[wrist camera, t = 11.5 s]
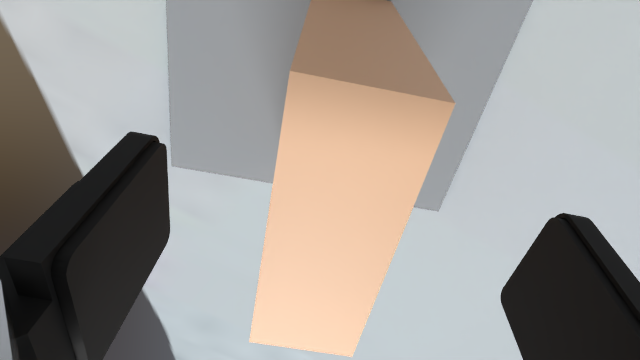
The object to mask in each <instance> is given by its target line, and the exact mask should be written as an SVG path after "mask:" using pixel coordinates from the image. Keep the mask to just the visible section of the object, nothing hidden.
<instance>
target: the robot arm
mask: <svg viewBox="0 0 640 360" xmlns="http://www.w3.org/2000/svg"><path fill="white" fill-rule="evenodd" d="M169 234H170V218H169V195H168V172H167V150H166V146H165V144H162V143H159V139H158V137H156V136H153V135H147V134H142V133H137V132H129V133H128V134H127V135H126V136H125V137H124V138H123V139H122V140H121V141H120V142H119V143H118V144H117V145H116V146H115V147H113V148H112V149H111V150H110V151H109V152H108V153H107V154H106V155H105V156H104V157H103V158H102V159H101V160H100V161H99V162H98V163H97V164H96V165H95V166H94V167H93V168H92V169H91V170H90V171H89V172H88V173H87V174H86V175H85V176H84V177H83V178H82V179H81V180H80V181H78V182H76V183H75V184H74V185H72V186H71V187H70V188H69V189H68V190H67V191H66V192H65V193H64V194H63V195H62V196H61V197H60V198H59V199H58V200H57V201H56V202H55V203H54V204H53V205H52V206H51V207H50V208H49V209H48V210H47V211H46V212H45V213H44V214H43V215H42V216H41V217H40V218H39V219H38V220H37V221H36V222H35V223H34V224H33V225H32V226H30V228H28V230H26V231H25V233H23V234H22V235H21V236H20V237H19V238H18V239H17V240H16V241H15V242H14V243H13V244H12V245H11V246H10V247H9V248H8V249H7V250H6V251H5V252H4V253H3V254H2V255H1V256H0V360H102V359H103V358H104V356H105V354H106V352H107V351H108V349H109V347H110V345H111V343H112V342H113V340H114V338H115V336H116V334H117V333H118V331H119V329H120V327H121V325H122V324H123V321H124V320H125V318H126V316H127V315H128V313H129V311H130V309H131V307H132V305H133V304H134V302H135V300H136V298H137V296H138V295H139V293H140V291H141V289H142V287H143V286H144V284H145V282H146V280H147V278H148V277H149V275H150V273H151V271H152V269H153V268H154V266H155V264H156V262H157V260H158V259H159V257H160V255H161V253H162V251H163V250H164V248H165V246H166V244H167V242H168V239H169ZM501 303H502V306H503V309H504V311H505V314H506V316H507V319H508V321H509V324H510V327H511V329H512V332H513V334H514V337H515V340H516V342H517V345H518V347H519V350H520V353H521V355H522V358H523V360H640V282H639V281H638V280H637V278H636V277H635V276H634V275H633V273H632V272H631V271H630V269H629V268H628V267H627V266H626V264H625V263H624V262H623V260H622V259H621V258H620V257H619V255H618V254H617V253H616V252H615V250H614V249H613V248H612V246H611V245H610V244H609V243H608V241H607V240H606V239H605V237H604V236H603V235H602V234H601V232H600V231H599V230H598V228H597V227H596V226H595V225H594V223H593V222H592V221H591V220H590V219H589V218H586V217H581V216H576V215H571V214H566V213H562V214H559V215H557V216H556V217H555V218H551V219H549V221H548V222H547V223H546V225H545V226H544V228H543V229H542V231H541V232H540V234H539V235H538V237H537V238H536V240H535V241H534V243H533V244H532V246H531V247H530V249H529V250H528V252H527V253H526V255H525V256H524V258H523V259H522V261H521V262H520V264H519V265H518V267H517V268H516V270H515V271H514V273H513V274H512V276H511V277H510V279H509V280H508V282H507V283H506V285H505V286H504V287H503V289H502V292H501Z"/></svg>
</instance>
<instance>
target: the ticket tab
mask: <svg viewBox="0 0 640 360" xmlns="http://www.w3.org/2000/svg"><path fill="white" fill-rule="evenodd" d="M455 104H456V103H455V102H454V100H453V99H452V97H451V95H450V94H449V92H448V91H447V89H446V87H445V86H444V84H443V83H442V81H441V80H440V78H439V76H438V75H437V73H436V72H435V70H434V68H433V67H432V65H431V64H430V62H429V60H428V59H427V57H426V56H425V54H424V53H423V51H422V49H421V48H420V46H419V45H418V43H417V41H416V40H415V38H414V37H413V35H412V33H411V32H410V30H409V29H408V27H407V26H406V24H405V22H404V21H403V19H402V18H401V16H400V14H399V13H398V11H397V10H396V8H395V6H394V5H393V3H392V2H391V1H387V0H311V2H310V5H309V8H308V12H307V15H306V18H305V22H304V25H303V28H302V32H301V35H300V38H299V42H298V45H297V48H296V52H295V55H294V58H293V62H292V65H291V68H290V73H289V79H288V86H287V93H286V100H285V106H284V113H283V120H282V126H281V133H280V140H279V146H278V153H277V160H276V166H275V173H274V180H273V186H272V193H271V200H270V207H269V213H268V220H267V227H266V233H265V240H264V247H263V253H262V260H261V267H260V273H259V280H258V287H257V294H256V300H255V307H254V314H253V320H252V327H251V334H250V340H249V342H252V343H259V344H266V345H273V346H280V347H287V348H294V349H301V350H308V351H315V352H322V353H329V354H336V355H343V356H350V357H352V356H353V353H354V351H355V349H356V346H357V344H358V341H359V339H360V336H361V334H362V331H363V329H364V327H365V324H366V322H367V319H368V317H369V314H370V312H371V309H372V307H373V305H374V302H375V300H376V297H377V295H378V292H379V290H380V287H381V285H382V282H383V280H384V278H385V275H386V273H387V270H388V268H389V265H390V263H391V260H392V258H393V256H394V253H395V251H396V248H397V246H398V243H399V241H400V238H401V236H402V233H403V231H404V229H405V226H406V224H407V221H408V219H409V216H410V214H411V211H412V209H413V207H414V204H415V202H416V199H417V197H418V194H419V192H420V189H421V187H422V185H423V182H424V180H425V177H426V175H427V172H428V170H429V167H430V165H431V162H432V160H433V158H434V155H435V153H436V150H437V148H438V145H439V143H440V140H441V138H442V136H443V133H444V131H445V128H446V126H447V123H448V121H449V118H450V116H451V113H452V111H453V109H454V106H455Z"/></svg>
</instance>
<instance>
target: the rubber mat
mask: <svg viewBox="0 0 640 360" xmlns="http://www.w3.org/2000/svg"><path fill="white" fill-rule="evenodd" d="M387 1H391V2H392V3H393V5H394V6H395V8H396V10H397V11H398V13H399V14H400V16H401V18H402V19H403V21H404V22H405V24H406V26H407V27H408V29H409V30H410V32H411V33H412V35H413V37H414V38H415V40H416V41H417V43H418V45H419V46H420V48H421V49H422V51H423V53H424V54H425V56H426V57H427V59H428V60H429V62H430V64H431V65H432V67H433V68H434V70H435V72H436V73H437V75H438V76H439V78H440V80H441V81H442V83H443V84H444V86H445V87H446V89H447V91H448V92H449V94H450V95H451V97H452V99H453V100H454V102H455V103H456V104H455V106H454V109H453V111H452V113H451V116H450V118H449V121H448V123H447V126H446V128H445V131H444V133H443V136H442V138H441V140H440V143H439V145H438V148H437V150H436V153H435V155H434V158H433V160H432V162H431V165H430V167H429V170H428V172H427V175H426V177H425V180H424V182H423V185H422V187H421V189H420V192H419V194H418V197H417V199H416V202H415V204H414V207H415V208H421V209H427V210H433V211H439V209H440V207H441V205H442V202H443V200H444V198H445V196H446V193H447V191H448V189H449V187H450V184H451V182H452V180H453V178H454V176H455V173H456V171H457V169H458V167H459V164H460V162H461V160H462V158H463V155H464V153H465V151H466V149H467V147H468V144H469V142H470V140H471V138H472V135H473V133H474V131H475V129H476V126H477V124H478V122H479V120H480V117H481V115H482V113H483V111H484V109H485V106H486V104H487V102H488V100H489V97H490V95H491V93H492V91H493V88H494V86H495V84H496V82H497V80H498V77H499V75H500V73H501V71H502V68H503V66H504V64H505V62H506V59H507V57H508V55H509V53H510V51H511V48H512V46H513V44H514V42H515V39H516V37H517V35H518V33H519V30H520V28H521V26H522V24H523V22H524V19H525V17H526V15H527V13H528V10H529V8H530V6H531V4H532V1H533V0H387ZM310 2H311V0H166V11H167V41H168V72H169V102H170V133H171V163H172V166H173V167H179V168H185V169H191V170H196V171H202V172H208V173H214V174H220V175H226V176H232V177H238V178H244V179H250V180H256V181H261V182H267V183H273V180H274V173H275V166H276V160H277V153H278V146H279V140H280V133H281V126H282V120H283V113H284V106H285V100H286V93H287V86H288V79H289V73H290V68H291V65H292V62H293V58H294V55H295V52H296V48H297V45H298V42H299V38H300V35H301V32H302V28H303V25H304V22H305V18H306V15H307V12H308V8H309V5H310Z"/></svg>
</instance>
